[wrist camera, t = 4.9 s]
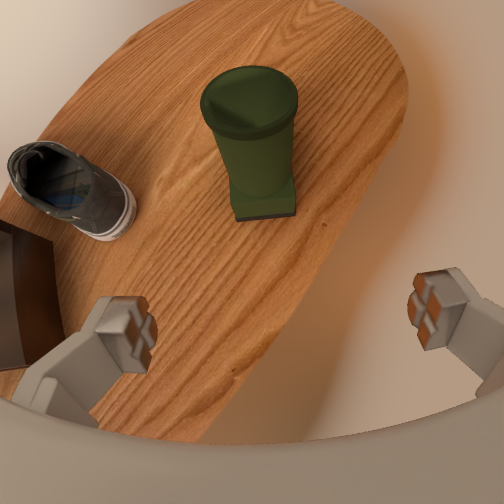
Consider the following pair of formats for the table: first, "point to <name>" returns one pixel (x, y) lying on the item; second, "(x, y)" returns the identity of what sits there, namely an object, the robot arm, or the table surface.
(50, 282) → the shoe bench
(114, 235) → the boat shoe
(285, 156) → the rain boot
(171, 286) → the table surface
